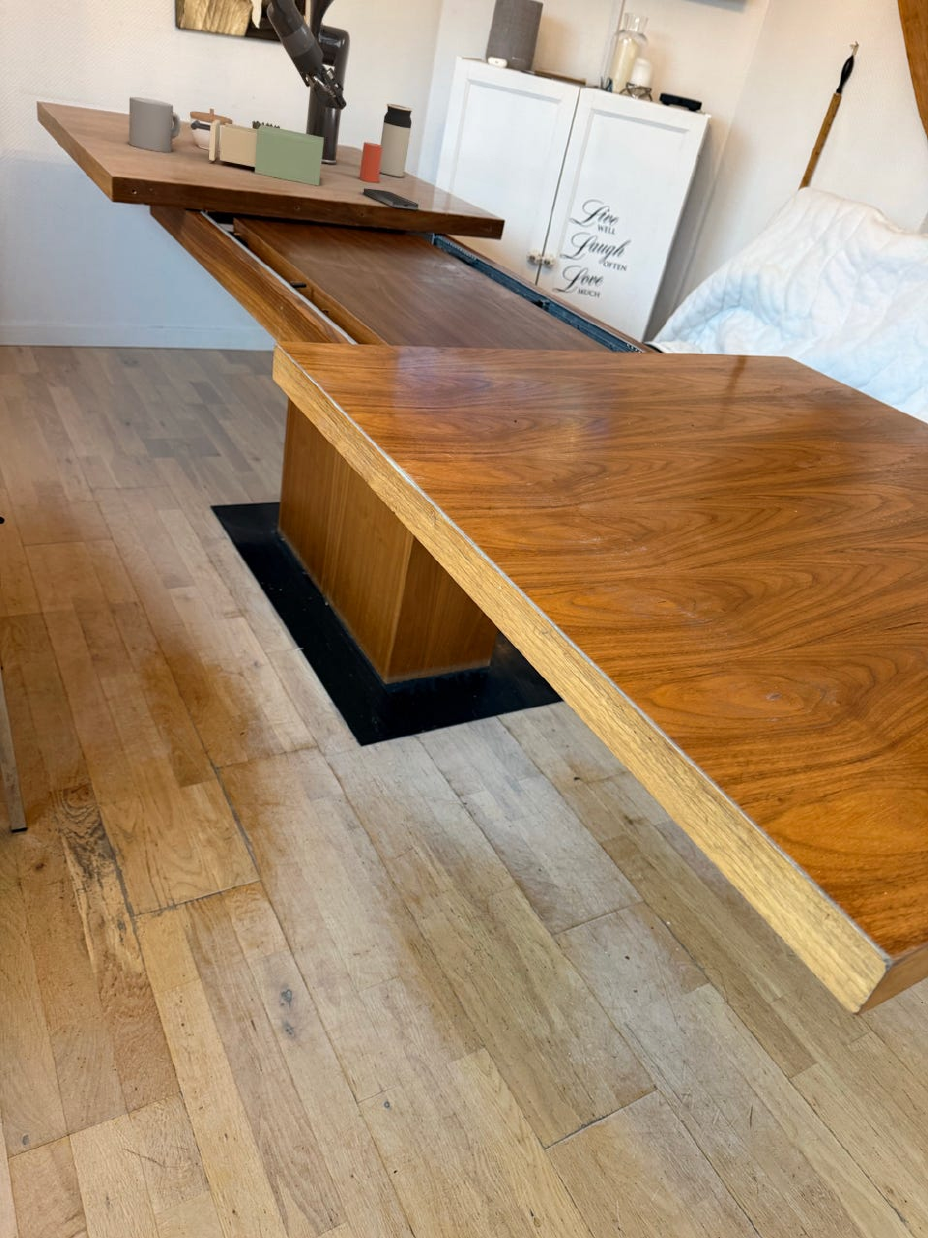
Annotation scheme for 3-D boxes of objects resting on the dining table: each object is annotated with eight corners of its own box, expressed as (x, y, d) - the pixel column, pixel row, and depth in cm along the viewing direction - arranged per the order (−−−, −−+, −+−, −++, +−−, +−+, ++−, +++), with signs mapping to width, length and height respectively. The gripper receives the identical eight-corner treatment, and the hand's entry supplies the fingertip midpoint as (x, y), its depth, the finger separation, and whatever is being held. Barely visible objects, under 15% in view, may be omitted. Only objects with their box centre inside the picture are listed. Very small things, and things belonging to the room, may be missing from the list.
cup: (274, 159, 249) (277, 127, 245) (247, 154, 249) (249, 121, 244) (279, 157, 256) (282, 125, 251) (253, 151, 255) (255, 119, 251)
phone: (388, 190, 234) (420, 204, 225) (387, 195, 235) (419, 209, 225) (361, 187, 229) (393, 201, 220) (361, 192, 230) (392, 206, 221)
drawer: (188, 155, 220) (189, 119, 216) (194, 149, 230) (195, 115, 226) (269, 171, 224) (272, 136, 220) (272, 165, 234) (274, 131, 230)
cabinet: (254, 173, 224) (257, 129, 219) (257, 166, 234) (260, 124, 229) (318, 185, 227) (323, 142, 222) (319, 178, 237) (323, 137, 232)
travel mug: (378, 173, 268) (388, 104, 258) (375, 169, 274) (384, 101, 265) (405, 178, 270) (415, 110, 260) (401, 174, 276) (411, 107, 267)
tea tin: (357, 176, 253) (361, 140, 249) (374, 179, 255) (379, 144, 251) (362, 180, 249) (367, 144, 245) (380, 183, 252) (385, 147, 247)
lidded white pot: (235, 151, 248) (238, 112, 243) (223, 154, 239) (225, 114, 234) (197, 142, 248) (198, 103, 243) (182, 145, 239) (184, 104, 234)
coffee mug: (141, 149, 220) (142, 102, 215) (121, 140, 225) (122, 94, 220) (192, 154, 229) (193, 109, 223) (171, 145, 234) (173, 101, 229)
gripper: (327, 37, 218) (360, 98, 231) (295, 29, 226) (328, 89, 239) (306, 59, 217) (340, 119, 231) (274, 50, 226) (309, 109, 239)
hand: (334, 104), depth 235 cm, fingers open, 8 cm apart
